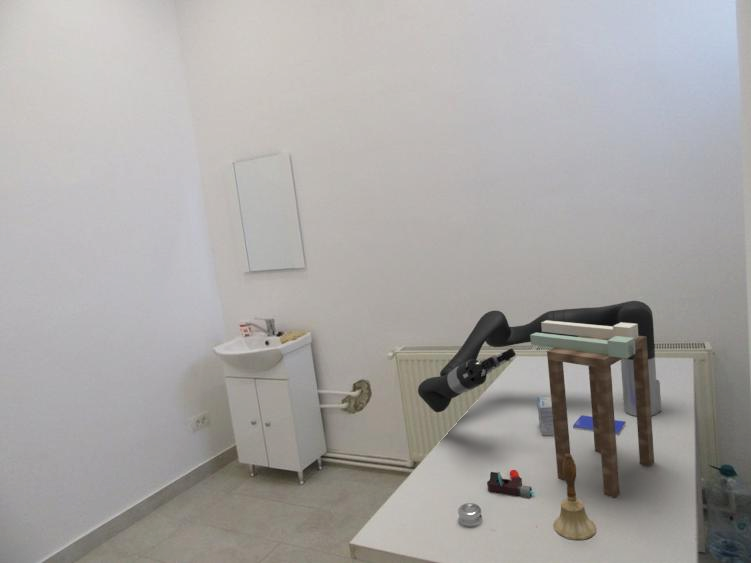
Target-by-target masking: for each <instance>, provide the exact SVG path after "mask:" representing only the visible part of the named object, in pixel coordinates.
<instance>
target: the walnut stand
mask: <svg viewBox="0 0 751 563" xmlns="http://www.w3.org/2000/svg"><path fill="white" fill-rule="evenodd" d="M579 337H581V338H590V339H599V340H609V339H604V338H595V337H586V336H579ZM546 355H547V367H548V368H547V369H548V377H549V389H550V397H551V403H552V415H553V426H554V435H553V436H554V446H555V457H556V458H555V459H556V469H557V470H556V472H557V479H559V480H562V481H565V482H566V480H565V478H564V474H563V461H564V458H565V454H571V446H570V431H569V419H568V412H567V411H568V410H567V409H568V408H567V397H566V396H567V395H566V386H565V373H564V363H567V364H573V365H579V366H580V365H581V366H586V367H588V375H589V377H588V379H589V388H590V389H589V390H590V391H589V392H590V403H591V415H592V416H591V417H592V418H593V431H594V432H593V441H594V444H593V445H594V452H597V453H600V455H601V456H600V457H601V469H602V472H601V474H602V483H603V495H604V496H607V497H610V498H612V499H616V497H618V496H619V495H620V494H621V493H620V481H619V480H620V478H619V476H620V475H619V464H618V463H619V462H618V452H617V451H618V450H617V448H618V446H617V437H616V436H617V435H616V433H615V420H616V419H615V408H614V407H615V406H614V395H613V394H614V393H613V379H612V365H614V364H616V363H618V362H619V361H621V359H623V358H619V357H611V356H608V355H605V354H597V353H590V352H582V351H575V350H567V349H560V348H552V349H549V350H547V351H546ZM633 366H634V381H635V397H636V412H637V416H636V425H637V426H636V427H637V440H638V443H637V444H638V458H639V465H642V466H645V467H646V466H647V467H651V466H653V464H654V463H655V454H654V451H655V450H654V439H653V438H654V434H653V423H652V422H653V420H652V416H651V401H650V384H649V368H648V352H647V337H646V336H638V339H636V340H635V354H634V355H633Z"/></svg>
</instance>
